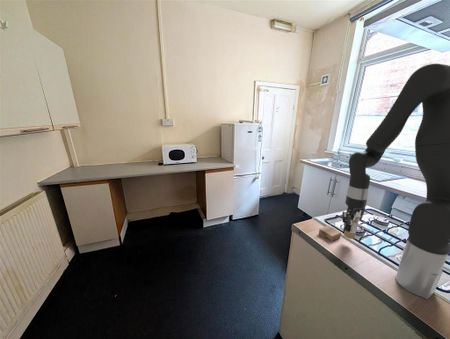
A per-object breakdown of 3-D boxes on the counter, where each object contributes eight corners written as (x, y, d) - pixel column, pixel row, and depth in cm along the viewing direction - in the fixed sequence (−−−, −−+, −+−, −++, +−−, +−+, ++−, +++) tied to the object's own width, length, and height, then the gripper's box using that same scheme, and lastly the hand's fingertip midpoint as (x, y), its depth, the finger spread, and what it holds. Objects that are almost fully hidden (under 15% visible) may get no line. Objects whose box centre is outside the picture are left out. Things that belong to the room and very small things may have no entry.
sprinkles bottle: (345, 232, 88) (349, 207, 85) (356, 236, 85) (361, 211, 81) (342, 236, 85) (346, 210, 82) (353, 240, 82) (358, 214, 78)
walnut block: (340, 237, 91) (341, 232, 90) (331, 241, 88) (332, 236, 87) (327, 230, 97) (328, 225, 96) (318, 233, 94) (319, 228, 93)
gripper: (356, 202, 73) (349, 238, 78) (375, 195, 79) (368, 229, 84) (338, 195, 80) (333, 229, 84) (357, 190, 86) (351, 222, 90)
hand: (350, 229), depth 84 cm, fingers closed on sprinkles bottle, 4 cm apart
